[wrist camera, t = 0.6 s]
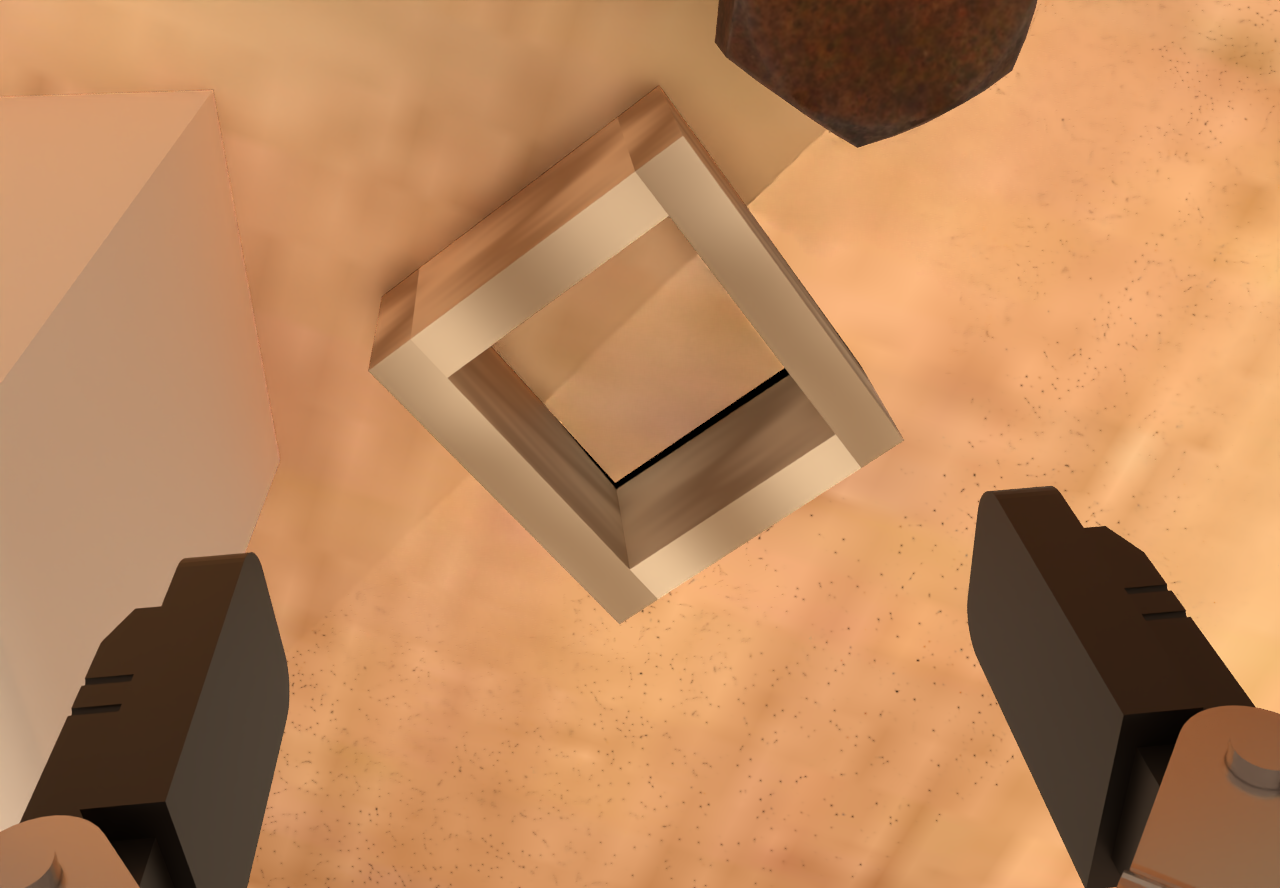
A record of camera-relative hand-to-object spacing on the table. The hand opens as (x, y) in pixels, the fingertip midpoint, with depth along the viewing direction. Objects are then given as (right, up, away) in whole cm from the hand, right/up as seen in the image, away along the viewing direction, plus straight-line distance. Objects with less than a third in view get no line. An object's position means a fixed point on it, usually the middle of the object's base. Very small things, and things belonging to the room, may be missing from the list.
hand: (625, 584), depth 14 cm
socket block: (0, +5, +25) cm, 26 cm away
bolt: (+3, +17, +19) cm, 26 cm away
